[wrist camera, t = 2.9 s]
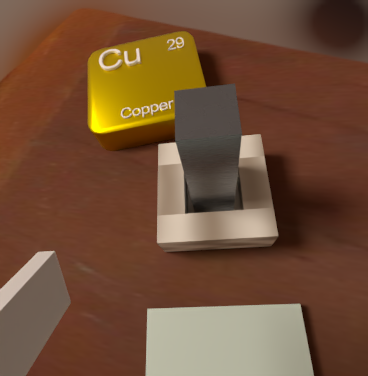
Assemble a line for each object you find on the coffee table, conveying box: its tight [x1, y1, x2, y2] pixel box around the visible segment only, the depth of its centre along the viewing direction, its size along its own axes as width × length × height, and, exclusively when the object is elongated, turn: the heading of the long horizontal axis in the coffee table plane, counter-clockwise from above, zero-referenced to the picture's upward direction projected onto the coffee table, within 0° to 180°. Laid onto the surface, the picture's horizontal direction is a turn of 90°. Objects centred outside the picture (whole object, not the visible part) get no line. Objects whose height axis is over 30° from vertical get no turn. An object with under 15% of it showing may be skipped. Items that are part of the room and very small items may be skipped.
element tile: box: [88, 31, 206, 151], centre depth 37 cm, size 15×15×5 cm
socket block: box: [157, 134, 278, 252], centre depth 29 cm, size 11×11×4 cm
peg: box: [174, 84, 242, 213], centre depth 23 cm, size 4×4×14 cm
